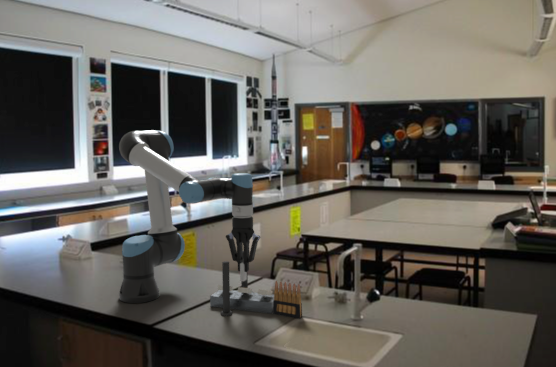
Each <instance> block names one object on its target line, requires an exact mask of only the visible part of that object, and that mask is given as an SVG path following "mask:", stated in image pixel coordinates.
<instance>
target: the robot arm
mask: <svg viewBox="0 0 556 367" xmlns="http://www.w3.org/2000/svg"><path fill="white" fill-rule="evenodd" d="M118 148H119V153H120V156H121V157H122V158H123V159H124V160H125V161H126V162H128V163H129V164H131V165H132V166H133V167H140V168H141V169H143V170H144V177H145V178H144V179H145V184H146V193H147V203H148V211H149V212H148V213H149V220H150V229H149V230H148V231H147V234H141V235H135V236H131V237H129V238H127V239H125V240H124V241H123V242H122V247H121V249H122V251H121V256H122V274H123V276H122V282H121V286H120V289H119V292H118V298H119V301H121V302H124V303H127V304H128V303H129V304H141V303H149V302H151V301H154V300H157V299H158V298H159V296H160V289H159V286H158V284H157V281H156V278H155V267H158V266H162V265H165V264H171V263H173V262H175V261H176V262H177V261H178V260H179V259H180V258H181V257H182V256H183V255H184V252H185V247H186V244H185V240H184V238H183V237H182V235H181V234H180V233H179V232H178V228H177V227H175V225H173V218H172V208H171V202H170V201H171V200H170V198H171V197H170V192H169V191H170V190H169V187H170V188H172V189H173V190H175V191H176V192H177V193H178V195H179V198H180V199H181V201H182V202H184V203H185V204H198V203H202V202H209V201H213V200H218V199H226V200H231V215H232V216H233V217H232V218H231V226H232V229H231V232H230V233H228V234H226V235H225V239H226V240H227V242H228V246H229V251H230V254H231V258H232V261H234V262H236V263H237V272H239V277H240V278H239V279H240V280H239V281H240V282H241V281H245V280H247V272H249V271H250V263H251V262H253V261H254V260H255V258H256V257H255V256H256V251H257V247H258V243H259V241H260V239H261V235H257V234H256V232H255V230H254V217H253V215H254V204H253V203H254V201H253V194H254V192H253V191H254V189H253V188H254V184H253V176H252V174H251V173H247V172H244V173H243V172H239V173H238V172H237V173H232V174H231V177H230V178H227V177H219V176H217V177H215V176H214V177H209V178H207V179H202V180H201V179H198V178H197V177H195V176H194V175H192V174H190V173H189V172H187V171H185V170H184V169H182V168H181V167H180V166H179V167H178V166H177V165H176V164H174V163H172V162H171V161H170V157H171V156H172V155H173V153H174V150H175V149H174V142H173V139H172V137H171V136H170V135H169V134H168V133H167V132H165V131H162V130H156V129H155V130H154V129H151V130H132V131H129V132H127V133H125V134H124V135H123V136H122V137H121V139H120V141H119V144H118ZM251 239H252V242H251V246H250V240H251ZM235 241H236V243H235ZM243 251H244V262H242V261H243Z"/></svg>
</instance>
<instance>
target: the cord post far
mask: <svg viewBox="0 0 556 367" xmlns="http://www.w3.org/2000/svg"><path fill="white" fill-rule="evenodd" d="M242 262H244V250H243V261H242ZM248 272H249V271H248ZM248 272H247V280H245V281H240V282H241V283H240V284H241V286H240V287H243V288H249V286H248V285H249V284H248V283H249V282H248V279H249V277H248Z"/></svg>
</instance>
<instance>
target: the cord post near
mask: <svg viewBox="0 0 556 367" xmlns="http://www.w3.org/2000/svg"><path fill="white" fill-rule="evenodd" d="M221 263H222V267H221V268H222V285H223V308H222V310H221V311H220V316H222V317H229V316H232V315H233V311H232V309H230V286H231V285H230V261H228V260H226V261H222V262H221Z"/></svg>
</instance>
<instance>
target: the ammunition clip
mask: <svg viewBox="0 0 556 367" xmlns="http://www.w3.org/2000/svg"><path fill="white" fill-rule="evenodd" d="M283 284H284V285H283ZM273 292H274V293H273V294H274V301H273V313H272V315H277V316H283V317H286V318H287V317H288V318H293V319H298V320H300V319H301V318H303V304H302V294H301V293H302V292H301V286H300V283H298V285H297V286H296V284H295V283H293V285H292V284H291V282H289V283H288V285H287V282H286V281H285V282H284V283H282V281H279V284H278V280H276V281H275V283H274V291H273Z"/></svg>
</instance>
